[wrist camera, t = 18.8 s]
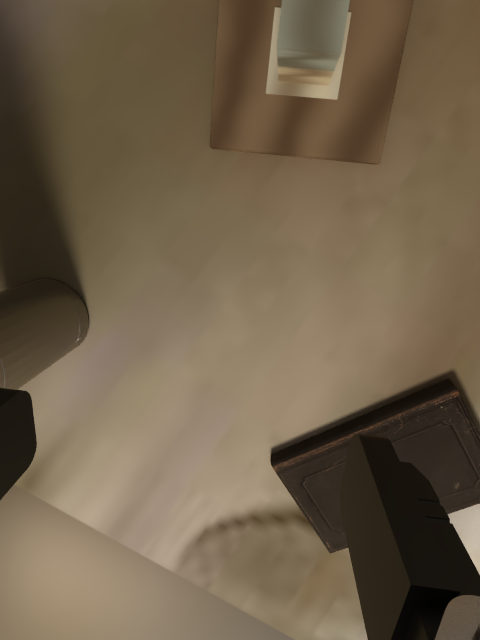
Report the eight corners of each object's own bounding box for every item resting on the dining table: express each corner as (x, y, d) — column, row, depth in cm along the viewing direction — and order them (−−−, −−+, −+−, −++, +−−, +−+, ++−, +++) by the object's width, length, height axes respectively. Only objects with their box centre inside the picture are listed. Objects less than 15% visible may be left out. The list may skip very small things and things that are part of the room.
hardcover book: (498, 479, 46) (509, 493, 43) (328, 538, 51) (330, 553, 49) (446, 376, 42) (455, 385, 40) (270, 451, 48) (269, 463, 46)
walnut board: (212, 148, 37) (209, 146, 35) (226, -56, 32) (223, -69, 30) (376, 164, 36) (380, 163, 34) (418, -46, 30) (425, -58, 29)
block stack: (278, 81, 33) (276, 47, 25) (285, 22, 32) (285, -33, 24) (328, 85, 33) (341, 52, 25) (337, 26, 31) (354, -29, 24)
